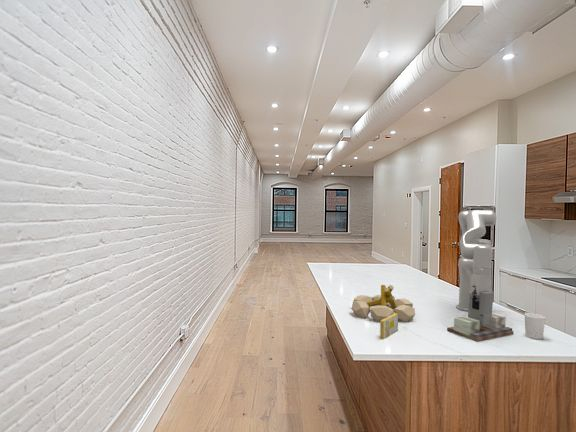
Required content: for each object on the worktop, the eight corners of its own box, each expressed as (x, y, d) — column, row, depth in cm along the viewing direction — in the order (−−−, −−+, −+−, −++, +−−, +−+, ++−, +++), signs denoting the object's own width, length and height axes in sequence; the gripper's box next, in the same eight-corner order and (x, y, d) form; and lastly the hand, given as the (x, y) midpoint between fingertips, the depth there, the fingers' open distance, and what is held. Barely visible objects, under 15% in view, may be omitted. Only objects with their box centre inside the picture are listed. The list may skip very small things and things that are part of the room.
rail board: (482, 324, 185) (482, 310, 185) (513, 334, 171) (513, 318, 171) (447, 330, 174) (447, 315, 174) (477, 341, 159) (477, 325, 159)
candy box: (394, 329, 174) (394, 312, 174) (398, 330, 173) (398, 313, 172) (379, 338, 161) (380, 320, 161) (384, 339, 160) (384, 321, 160)
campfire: (419, 326, 180) (420, 293, 180) (350, 321, 187) (351, 288, 187) (409, 308, 215) (410, 280, 214) (352, 304, 221) (353, 277, 221)
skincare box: (467, 321, 175) (468, 288, 174) (477, 319, 178) (478, 287, 177) (483, 326, 167) (483, 292, 167) (493, 324, 170) (494, 291, 170)
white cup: (535, 340, 163) (536, 318, 163) (520, 334, 171) (520, 313, 171) (548, 339, 165) (549, 317, 165) (532, 333, 173) (533, 312, 173)
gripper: (486, 269, 179) (485, 304, 179) (462, 270, 172) (461, 308, 172) (500, 271, 172) (499, 308, 173) (476, 273, 165) (475, 312, 165)
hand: (480, 307), depth 172 cm, fingers closed on skincare box, 6 cm apart
